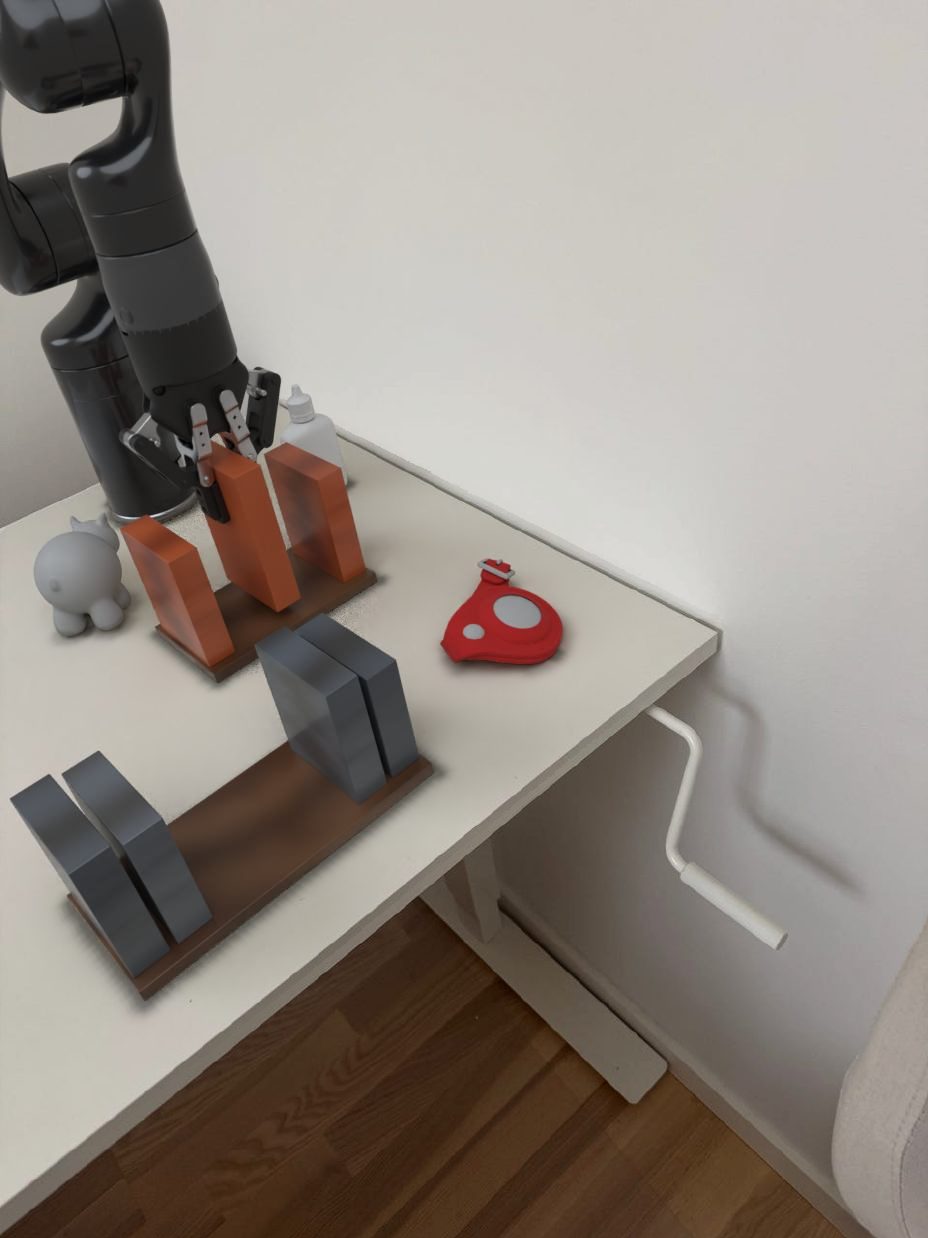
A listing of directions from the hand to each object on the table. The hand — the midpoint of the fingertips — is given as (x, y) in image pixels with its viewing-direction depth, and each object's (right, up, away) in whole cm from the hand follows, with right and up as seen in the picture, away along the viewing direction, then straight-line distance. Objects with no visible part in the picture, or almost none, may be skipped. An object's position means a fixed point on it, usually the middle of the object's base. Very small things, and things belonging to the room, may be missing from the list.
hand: (236, 510), depth 78 cm
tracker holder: (+22, -10, 0) cm, 24 cm away
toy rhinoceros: (-15, -7, +11) cm, 20 cm away
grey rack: (+5, -24, -14) cm, 28 cm away
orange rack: (+1, -8, +6) cm, 10 cm away
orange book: (+1, -6, +5) cm, 8 cm away
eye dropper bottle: (+4, +4, +21) cm, 22 cm away
